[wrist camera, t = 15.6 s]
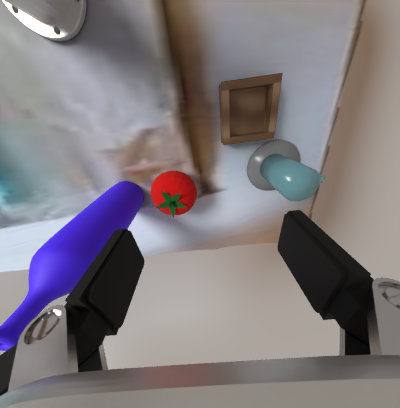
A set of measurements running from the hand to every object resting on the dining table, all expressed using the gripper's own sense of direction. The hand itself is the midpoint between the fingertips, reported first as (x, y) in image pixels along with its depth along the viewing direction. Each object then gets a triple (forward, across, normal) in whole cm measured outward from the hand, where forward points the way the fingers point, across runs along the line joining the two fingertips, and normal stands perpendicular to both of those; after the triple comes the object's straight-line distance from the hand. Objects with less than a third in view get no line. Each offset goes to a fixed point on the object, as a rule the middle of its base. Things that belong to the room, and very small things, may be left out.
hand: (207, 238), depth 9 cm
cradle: (+28, -10, -6) cm, 31 cm away
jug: (+27, -19, +6) cm, 34 cm away
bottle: (+28, +20, +9) cm, 36 cm away
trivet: (+28, -17, +6) cm, 34 cm away
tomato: (+28, +7, +8) cm, 30 cm away
